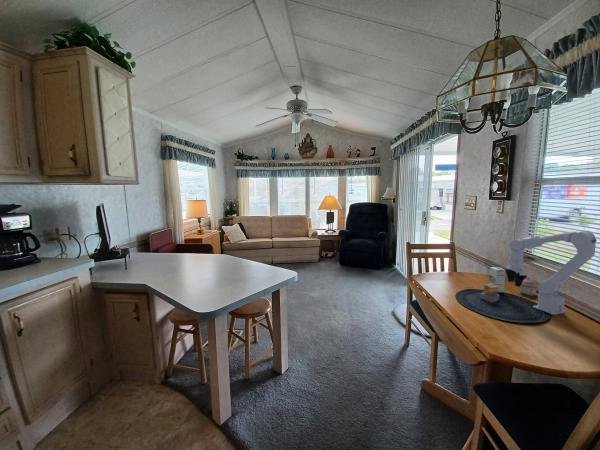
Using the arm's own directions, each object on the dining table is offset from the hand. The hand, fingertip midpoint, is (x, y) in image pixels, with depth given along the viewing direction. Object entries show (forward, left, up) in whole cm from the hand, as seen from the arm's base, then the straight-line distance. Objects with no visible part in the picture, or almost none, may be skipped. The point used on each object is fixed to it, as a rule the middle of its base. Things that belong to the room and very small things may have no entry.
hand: (514, 283), depth 145 cm
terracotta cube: (+4, +12, -6) cm, 14 cm away
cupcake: (+4, -17, -10) cm, 20 cm away
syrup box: (+13, -4, -10) cm, 17 cm away
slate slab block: (+4, +12, -10) cm, 16 cm away
